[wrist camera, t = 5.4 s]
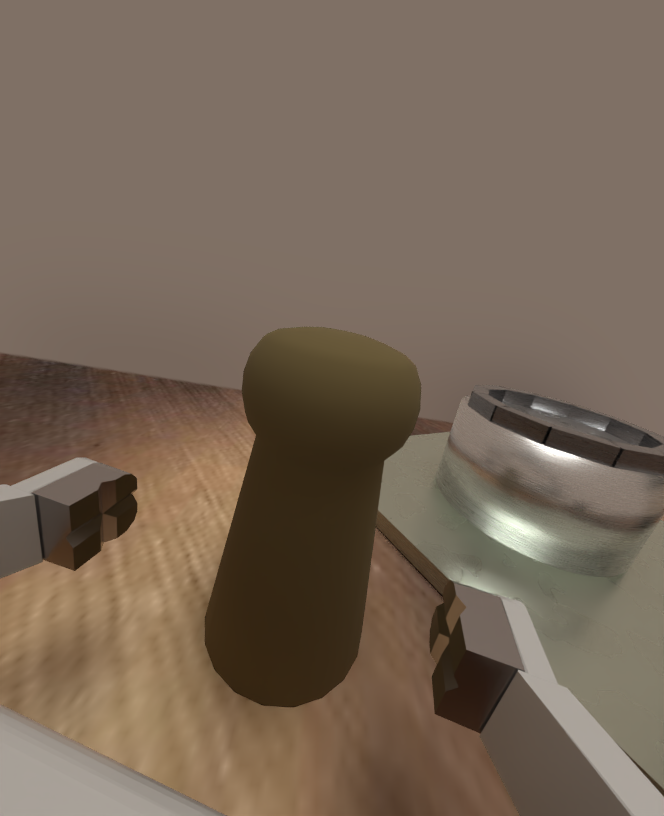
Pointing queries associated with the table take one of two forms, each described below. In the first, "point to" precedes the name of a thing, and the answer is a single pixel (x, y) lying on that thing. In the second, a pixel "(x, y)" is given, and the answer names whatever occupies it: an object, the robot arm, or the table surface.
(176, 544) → the table surface
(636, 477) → the duct stub
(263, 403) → the cork
